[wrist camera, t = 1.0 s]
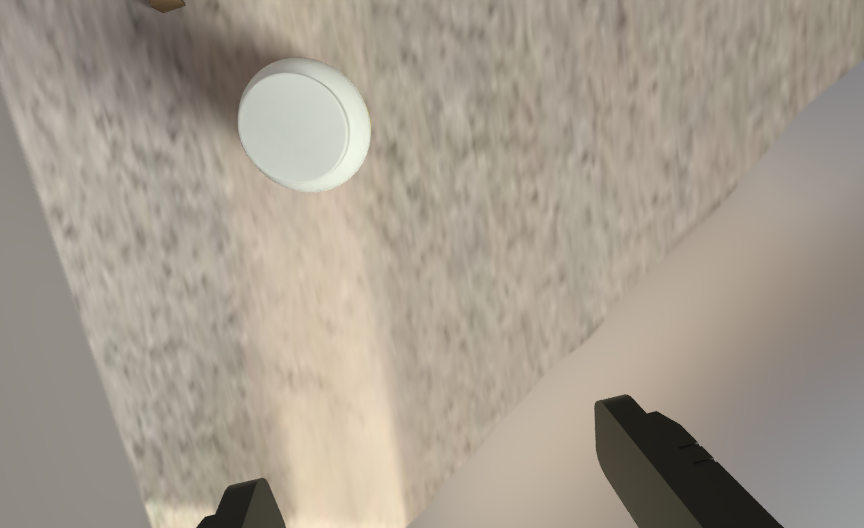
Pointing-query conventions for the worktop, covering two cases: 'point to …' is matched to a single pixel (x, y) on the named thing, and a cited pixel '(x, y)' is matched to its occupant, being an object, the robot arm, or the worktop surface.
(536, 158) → the worktop surface
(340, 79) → the supplement bottle
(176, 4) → the wall board
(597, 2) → the worktop surface
